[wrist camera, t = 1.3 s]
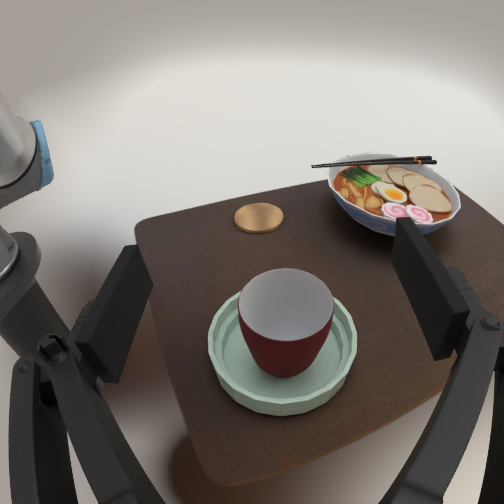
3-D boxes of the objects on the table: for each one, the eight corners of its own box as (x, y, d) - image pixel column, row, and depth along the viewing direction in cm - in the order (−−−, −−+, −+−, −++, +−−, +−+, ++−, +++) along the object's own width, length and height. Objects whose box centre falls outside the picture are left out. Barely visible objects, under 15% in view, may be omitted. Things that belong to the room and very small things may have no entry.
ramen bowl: (342, 276, 43) (351, 228, 37) (302, 191, 60) (303, 151, 55) (476, 254, 44) (492, 213, 39) (414, 183, 61) (421, 148, 56)
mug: (242, 317, 38) (235, 253, 31) (310, 311, 38) (318, 246, 32) (247, 398, 30) (238, 346, 23) (327, 390, 30) (345, 335, 24)
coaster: (245, 239, 50) (245, 236, 50) (227, 213, 56) (227, 210, 55) (291, 225, 52) (291, 222, 52) (270, 201, 58) (270, 198, 57)
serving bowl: (245, 440, 27) (241, 428, 24) (196, 328, 38) (190, 307, 35) (375, 377, 31) (385, 359, 28) (307, 287, 42) (310, 265, 39)
